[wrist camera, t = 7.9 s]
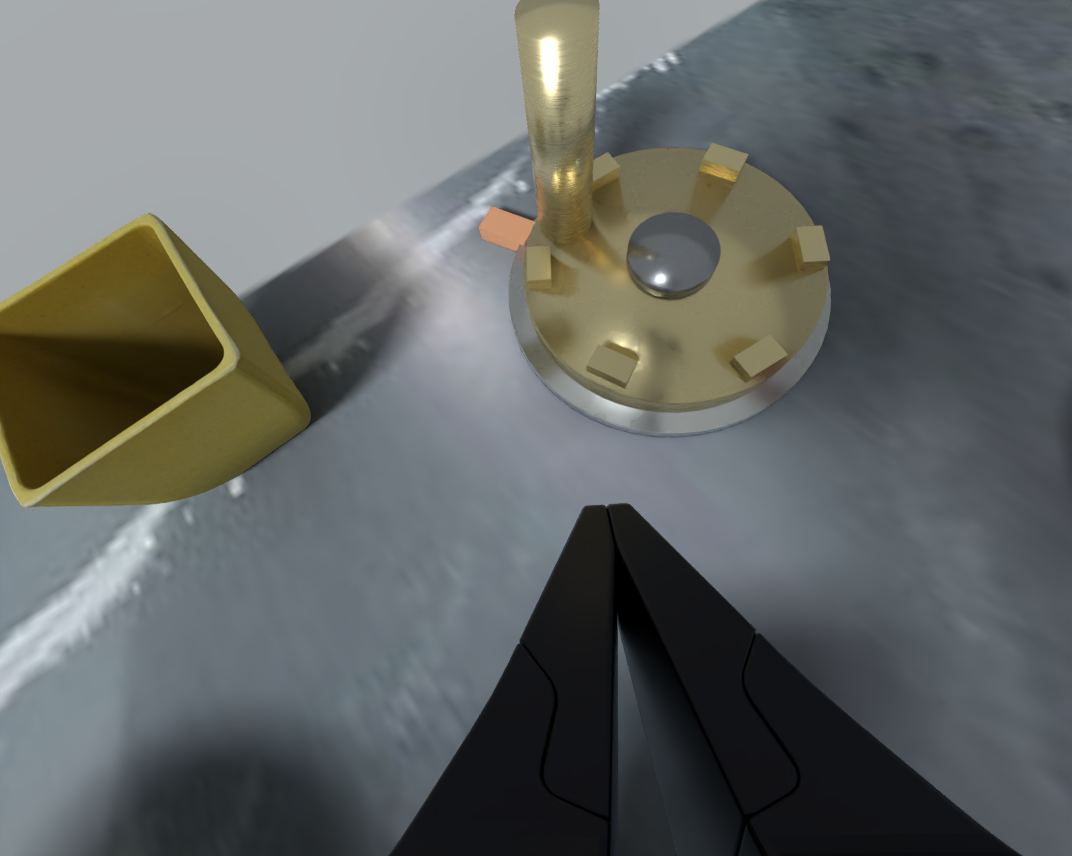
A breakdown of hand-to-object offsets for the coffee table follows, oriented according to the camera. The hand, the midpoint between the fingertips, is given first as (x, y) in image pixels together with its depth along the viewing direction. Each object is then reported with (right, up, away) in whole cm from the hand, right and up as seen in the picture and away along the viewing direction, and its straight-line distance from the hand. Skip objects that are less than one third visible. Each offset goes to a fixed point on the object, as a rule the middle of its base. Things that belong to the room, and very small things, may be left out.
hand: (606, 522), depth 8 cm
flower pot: (-17, +2, +17) cm, 24 cm away
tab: (-3, +13, +19) cm, 23 cm away
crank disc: (+6, +9, +17) cm, 20 cm away
